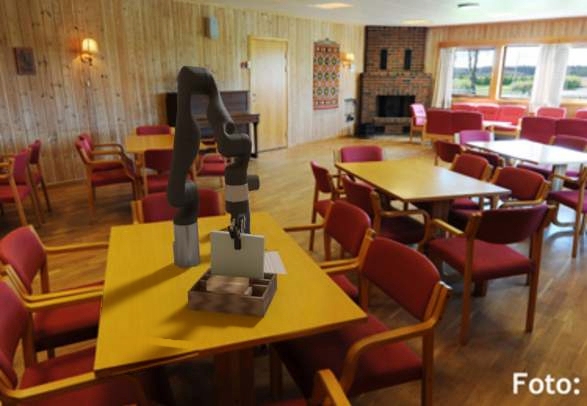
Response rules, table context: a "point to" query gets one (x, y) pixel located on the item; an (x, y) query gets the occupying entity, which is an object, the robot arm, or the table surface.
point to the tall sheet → (237, 255)
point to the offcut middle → (247, 293)
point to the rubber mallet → (252, 186)
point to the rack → (234, 297)
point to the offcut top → (227, 284)
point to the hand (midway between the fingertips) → (238, 248)
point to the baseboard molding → (273, 263)
